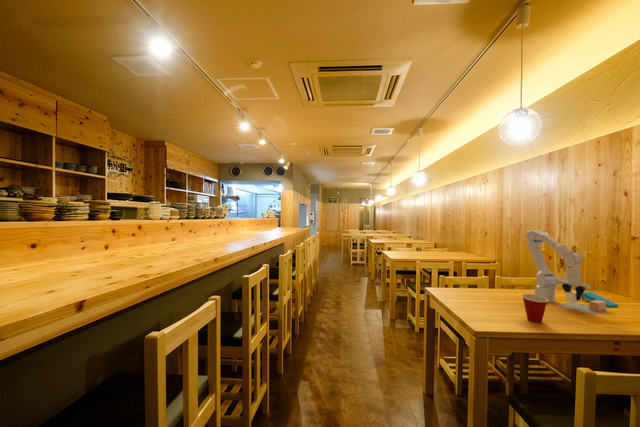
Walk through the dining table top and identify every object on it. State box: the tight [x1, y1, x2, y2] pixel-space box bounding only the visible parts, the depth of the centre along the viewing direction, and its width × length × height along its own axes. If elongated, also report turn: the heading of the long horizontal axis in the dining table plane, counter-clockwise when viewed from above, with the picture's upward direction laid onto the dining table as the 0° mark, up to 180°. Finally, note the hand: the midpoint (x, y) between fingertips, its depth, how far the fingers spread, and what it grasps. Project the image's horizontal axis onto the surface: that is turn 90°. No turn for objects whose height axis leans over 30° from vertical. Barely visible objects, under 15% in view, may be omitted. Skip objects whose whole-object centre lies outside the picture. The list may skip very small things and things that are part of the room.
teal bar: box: [581, 291, 619, 308], centre depth 172 cm, size 7×7×18 cm
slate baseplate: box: [556, 301, 611, 316], centre depth 161 cm, size 18×17×1 cm
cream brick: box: [565, 290, 582, 303], centre depth 161 cm, size 4×7×4 cm, turn 112°
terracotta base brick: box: [588, 300, 607, 312], centre depth 158 cm, size 4×7×4 cm, turn 112°
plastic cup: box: [521, 293, 549, 324], centre depth 143 cm, size 11×11×12 cm
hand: (573, 298), depth 161 cm, fingers closed on cream brick, 4 cm apart
